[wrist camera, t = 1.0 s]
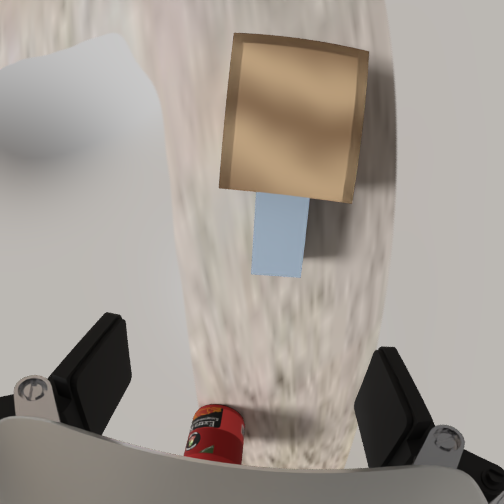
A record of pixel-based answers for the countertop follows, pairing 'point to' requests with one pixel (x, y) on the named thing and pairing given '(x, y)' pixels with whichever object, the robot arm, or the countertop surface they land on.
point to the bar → (279, 234)
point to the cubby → (293, 117)
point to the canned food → (216, 435)
